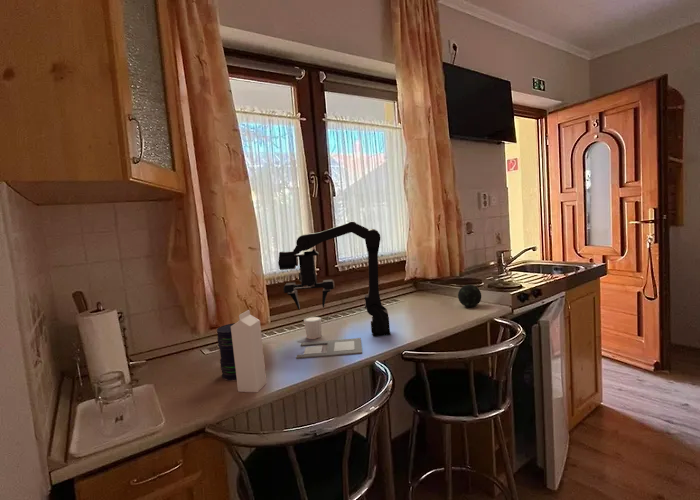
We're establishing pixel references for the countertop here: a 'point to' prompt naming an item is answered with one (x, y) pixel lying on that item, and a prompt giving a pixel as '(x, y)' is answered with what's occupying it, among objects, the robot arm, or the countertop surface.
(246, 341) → the milk
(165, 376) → the countertop surface
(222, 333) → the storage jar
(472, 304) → the decorative stone
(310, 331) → the shot glass
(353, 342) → the label board
